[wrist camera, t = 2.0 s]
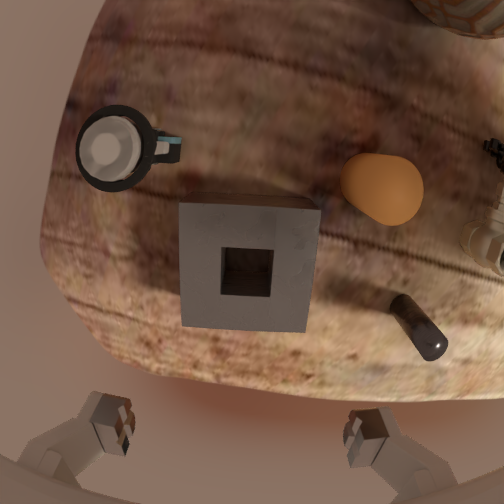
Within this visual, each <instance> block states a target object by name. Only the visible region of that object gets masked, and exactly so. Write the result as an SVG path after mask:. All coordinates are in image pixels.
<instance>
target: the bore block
mask: <svg viewBox="0 0 504 504" xmlns="http://www.w3.org/2000/svg"><path fill="white" fill-rule="evenodd" d="M320 218H321V210H320V208H319V207H318V206H317V205H315V204H314V203H313V202H312V201H311V200H310V199H308V198H295V197H280V196H264V195H247V194H226V193H200V192H191V193H190V194H189V195H188V196H186V197H185V198H184V199H183V200H181V201H180V202H179V269H180V298H181V320H182V326H186V327H199V328H212V329H228V330H245V331H267V332H299V333H305V331H306V324H307V318H308V311H309V305H310V298H311V291H312V284H313V276H314V269H315V261H316V253H317V244H318V236H319V227H320ZM226 247H232V248H251V249H269V262H268V272H251V271H233V270H225V267H226Z"/></svg>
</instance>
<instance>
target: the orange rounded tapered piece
mask: <svg viewBox="0 0 504 504" xmlns="http://www.w3.org/2000/svg"><path fill="white" fill-rule="evenodd" d="M340 188H341V191H342V194H343V195H344V197H345V199H346V200H347V201H348V202H349V203H350V204H352V205H353V206H355V207H356V208H358V209H359V210H361V211H362V212H364V213H365V214H367V215H368V216H370V217H371V218H373V219H374V220H376V221H377V222H379V223H381V224H384V225H389V226H395V225H400V224H403V223H405V222H407V221H408V220H410V219H411V218H412V217H413V216H414V215H415V214H416V212H417V211H418V209H419V208H420V205H421V203H422V200H423V193H424V187H423V181H422V177H421V175H420V173H419V171H418V170H417V168H416V167H415V166H414V165H413V164H412V163H411V162H410V161H408V160H407V159H405V158H402V157H398V156H391V155H383V154H374V153H360V154H357V155H355V156H353V157H351V158H350V159H349V160H348V161H347V162H346V163H345V165H344V166H343V168H342V171H341V174H340Z"/></svg>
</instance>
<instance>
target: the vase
mask: <svg viewBox="0 0 504 504" xmlns="http://www.w3.org/2000/svg"><path fill="white" fill-rule="evenodd" d="M410 1H411V2H412V4H413V5H414V6H415V7H416V8H417V9H418V10H419V11H420V12H421V13H422V14H423V15H424V16H425V17H427V18H428V19H429V20H431V21H432V22H433V23H435V24H437V25H438V26H440V27H442V28H444V29H446V30H448V31H450V32H452V33H455V34H457V35H461V36H465V37H469V38H474V39H484V40H488V39H498V38H503V37H504V0H410Z"/></svg>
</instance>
